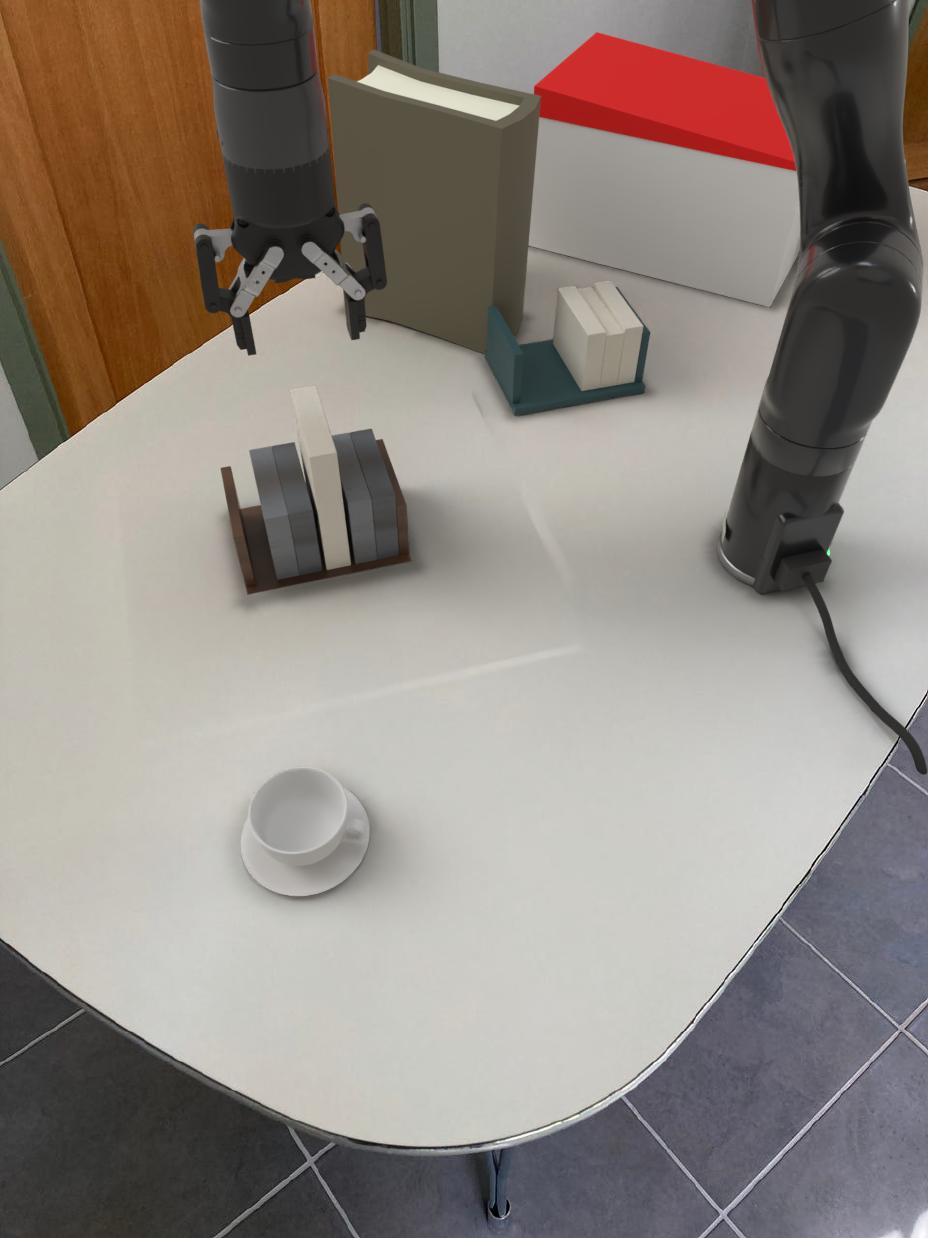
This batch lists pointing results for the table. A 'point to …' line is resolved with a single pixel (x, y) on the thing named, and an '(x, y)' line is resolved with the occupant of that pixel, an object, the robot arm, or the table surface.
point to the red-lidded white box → (665, 170)
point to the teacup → (303, 832)
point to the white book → (321, 476)
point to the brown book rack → (284, 522)
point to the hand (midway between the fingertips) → (303, 342)
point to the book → (438, 193)
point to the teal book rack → (572, 352)
